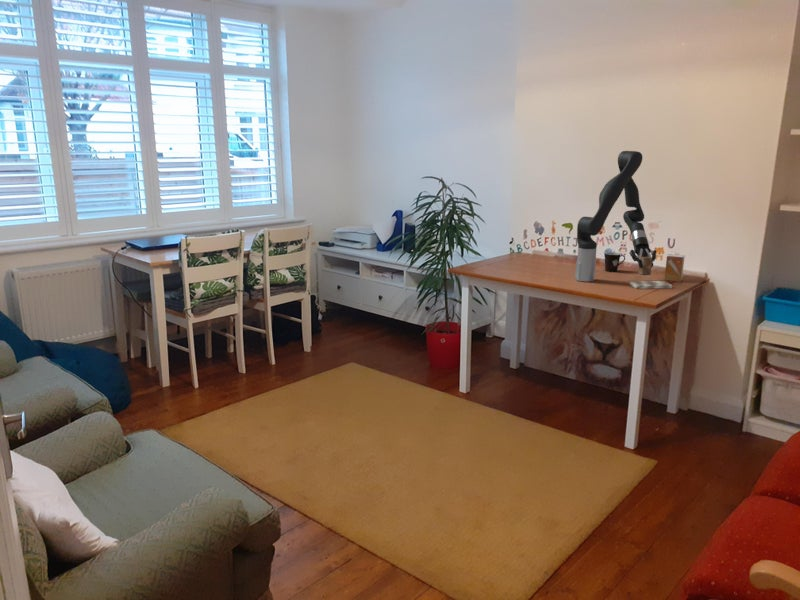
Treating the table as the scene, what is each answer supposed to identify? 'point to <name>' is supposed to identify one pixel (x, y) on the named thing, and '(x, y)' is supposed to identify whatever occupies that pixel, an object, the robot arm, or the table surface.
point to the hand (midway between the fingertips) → (646, 267)
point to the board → (649, 284)
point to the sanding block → (645, 266)
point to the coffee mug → (612, 261)
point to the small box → (674, 267)
